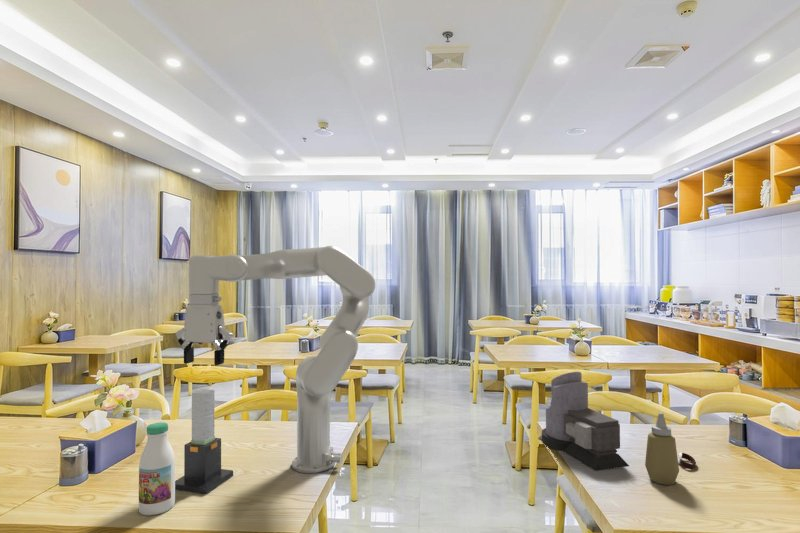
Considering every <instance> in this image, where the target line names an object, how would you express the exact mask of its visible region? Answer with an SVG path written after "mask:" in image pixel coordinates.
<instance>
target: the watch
mask: <svg viewBox="0 0 800 533" xmlns="http://www.w3.org/2000/svg"><path fill="white" fill-rule="evenodd" d="M677 457H678V465H680V466H682V467H683V468H685V469H687V470H688V469H689V470H693V469H695V467H696V464H697V461H696V460H695V458H694V457H693V456H692V455H690V454H688V453H685V452H683V451H682V452H679V454H678V455H677ZM683 459H684V460H683ZM685 460H687V461H688V462H686V461H685ZM689 462H690V463H689Z"/></svg>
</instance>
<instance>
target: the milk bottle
mask: <svg viewBox="0 0 800 533" xmlns="http://www.w3.org/2000/svg"><path fill="white" fill-rule="evenodd" d="M168 433H169V424H168V423H167V422H163V421H161V422H160V421H159V422H154V423H150V424H148V425H147V426H146V436H147V440H146V443H145V446H144V448H143V450H142V452H141V455H140V459H139V464H138V465H139V467H138V511H139V513H140V515H143V516H156V515H161V514H164V513H165V512H168V511H170V510H171V509H172V508H173V507H174V506H175V503H176V490H175V481H176V457H175V452H174V449H173V447H172V445H171V443H170V441H169V438H168Z"/></svg>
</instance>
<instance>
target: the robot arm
mask: <svg viewBox="0 0 800 533" xmlns="http://www.w3.org/2000/svg"><path fill="white" fill-rule="evenodd" d="M321 276H327V277H328V278H330V279H331V280H332V281H333V282H334V283H335V284H337V285H338V286H339V289H340V292H341V295H342V304H341V306H340V308H339V309H338V311H337V313H336V315H335V317H333V319H332V321H331V322H330V323H329V325H328V326H327V328H326V329H325V330H324V332H323V333H322V334H321V336H320V338H319V340H318V343H319V344H318V345H319V349H320V351H319V352H318V354H317V355H311V356H307V357H305V358H303V359H302V360H301V361H300V362H299V364H298V365H297V367H296V371H295V384H296V398H297V399H296V401H297V404H296V405H297V406H296V407H297V408H296V409H297V411H296V414H297V415H296V418H297V419H296V420H297V421H296V422H297V423H296V431H297V432H296V434H297V435H296V436H297V437H296V442H297V444H296V445H297V446H296V449H297V450H296V451H297V452H296V453H297V454H296V455H297V456H296V457H294V458H293V460H291V468H292V469H293V470H294V471H295V472H298V473H303V474H316V473H322V472H325V471H328V470H330V469H331V468H333V467H334V465H335V464H336V463H337V464H341V463H342V462H343V456H342V452H335V451H334V447H333V446H331V402H330V401H331V396H330V393H331V392H332V391H333V390H335V388H336V387H337V385H338V384H339V383H340V381H341V380H342V378H343V377H344V375H345V374H346V373H347V370H348V369H349V368H350V367H351V365H352V363H353V362H354V360H355V358H356V355H357V354H358V350H359V342H358V339H357V335H358V333H359V332H360V330H361V329H362V327H363V325H364V324H365V322H366V320H367V317H368V314H369V310H370V296H372V294H373V293H374V292H375V290H376V281H375V278H374V276H373V275H372V273H370V271H368V270H367V269H366V268H365V267H364V266H362V264H361V265H360V264H359V263H358V262H357V261H356V260H354V259H353V258H352V257H351V256H350V255H348V254H347V253H346V252H345V251H344V250H342V249H340V248H339V247H338V246H334V245H327V246H320V247H319V246H318V247H310V248H309V247H307V248H291V249H290V248H289V249H288V248H287V249H280V250H275V251H272V252H267V253H258V254H257V253H256V254H245V255H243V254H242V255H241V254H240V255H238V254H225V255H210V254H209V255H208V254H207V255H199V254H198V255H197V254H196V255H192V256H190V257H189V258H188V305H187V306H186V310H185V315H184V322H183V323H184V324H183V325H184V326H183V327H182V328H181V329H179V330H177V331H176V332H175V336H176V338H177V340H178V343H179V345H180V346H181V349H183V364H185V365H187V364H191V363H193V362H195V361H194V360H195V349H194V347H192V346H193V345H194V344H195V343H196V344H197V343H198V344H212V345H213V346H214V348H215V349H216V350H214V352H213V353H214V356H213V357H214V358H213V359H214V360H213V361H214V363H213V364H214V366H220V365H223V364H224V363H225V350H226V349H227V347H228V345H230V344H231V343H230V342H231V340H232V338H233V335H234V334H233V333H232V332H231V331H230V330H228V329H227V328H226V325H225V318H224V316H225V315H224V312H223V311H224V310H223V307H222V305H220V304H219V302H221V301H222V300H223V299H222V296H219V295H220V294H219V291H220V288H219V285H220V284H219V281H223V282H231V283H233V282H234V283H236V282H240V281H251V280H264V279H266V280H267V279H273V280H288V279H289V280H291V279H298V278H299V279H301V278H308V277H309V278H310V277H321Z"/></svg>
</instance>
